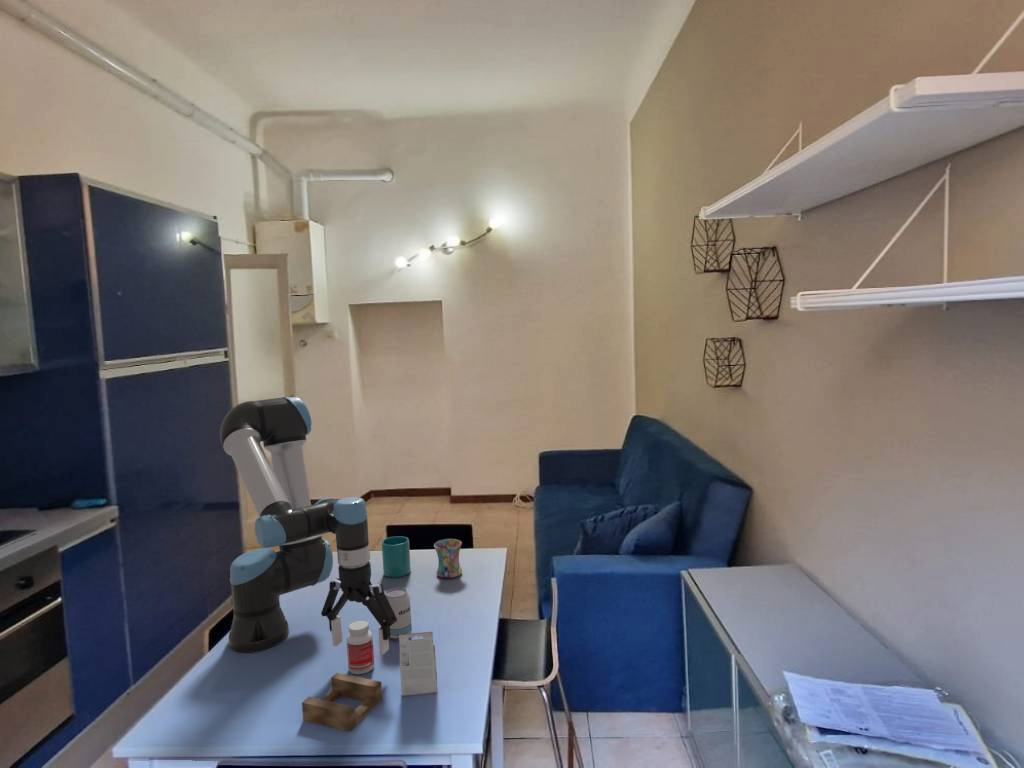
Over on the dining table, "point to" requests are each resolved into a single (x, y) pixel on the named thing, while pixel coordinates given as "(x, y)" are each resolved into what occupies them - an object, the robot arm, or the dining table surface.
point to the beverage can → (400, 612)
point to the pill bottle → (360, 648)
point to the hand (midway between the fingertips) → (360, 647)
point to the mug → (448, 558)
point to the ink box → (417, 664)
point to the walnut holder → (338, 713)
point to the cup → (396, 556)
